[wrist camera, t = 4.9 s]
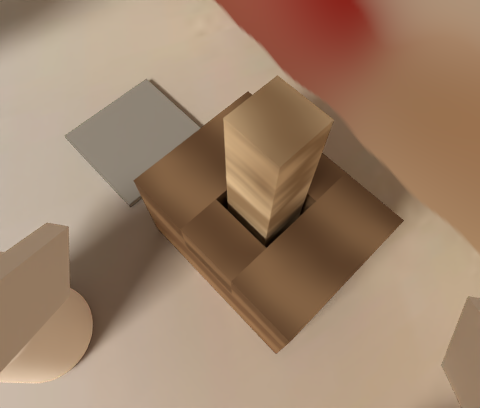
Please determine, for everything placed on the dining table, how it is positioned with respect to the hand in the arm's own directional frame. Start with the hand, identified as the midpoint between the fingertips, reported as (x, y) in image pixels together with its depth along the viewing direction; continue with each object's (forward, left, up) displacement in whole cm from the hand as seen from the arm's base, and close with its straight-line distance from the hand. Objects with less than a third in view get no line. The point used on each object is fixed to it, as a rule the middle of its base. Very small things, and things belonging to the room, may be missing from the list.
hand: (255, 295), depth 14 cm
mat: (+7, +23, -24) cm, 34 cm away
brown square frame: (+8, +6, -24) cm, 26 cm away
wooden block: (+8, +6, -18) cm, 20 cm away
